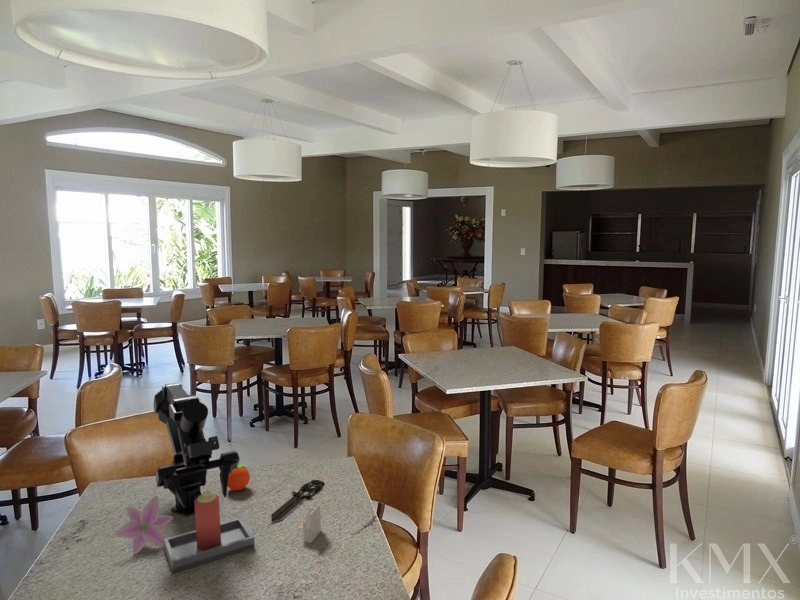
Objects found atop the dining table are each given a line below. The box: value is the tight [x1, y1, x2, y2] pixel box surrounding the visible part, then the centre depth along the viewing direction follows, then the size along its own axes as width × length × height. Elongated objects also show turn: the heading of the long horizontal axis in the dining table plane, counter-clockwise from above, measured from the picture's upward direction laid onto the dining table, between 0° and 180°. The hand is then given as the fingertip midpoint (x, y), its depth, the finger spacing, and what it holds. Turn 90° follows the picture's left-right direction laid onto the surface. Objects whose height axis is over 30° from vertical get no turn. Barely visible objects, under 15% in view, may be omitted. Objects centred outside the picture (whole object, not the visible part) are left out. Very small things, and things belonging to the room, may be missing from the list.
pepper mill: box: [194, 490, 221, 551], centre depth 127 cm, size 5×5×13 cm
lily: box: [112, 495, 174, 555], centre depth 130 cm, size 12×12×10 cm
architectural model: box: [297, 503, 322, 544], centre depth 133 cm, size 3×7×7 cm, turn 164°
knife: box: [270, 479, 325, 525], centre depth 150 cm, size 25×6×1 cm, turn 154°
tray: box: [163, 517, 255, 574], centre depth 128 cm, size 11×18×2 cm, turn 123°
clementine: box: [227, 464, 252, 492], centre depth 158 cm, size 8×7×7 cm
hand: (205, 501), depth 128 cm, fingers open, 9 cm apart
